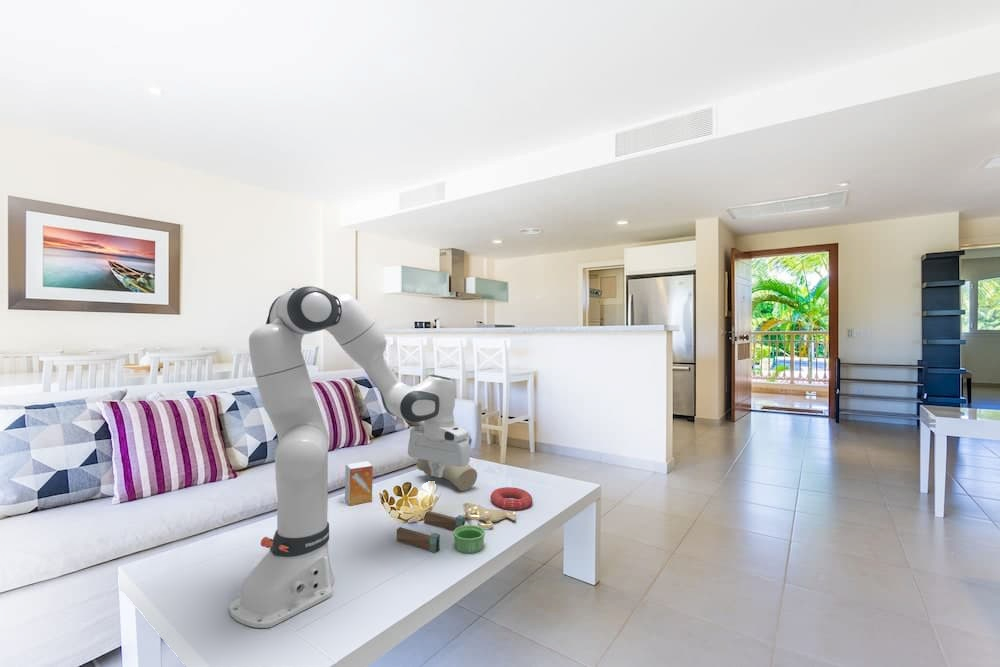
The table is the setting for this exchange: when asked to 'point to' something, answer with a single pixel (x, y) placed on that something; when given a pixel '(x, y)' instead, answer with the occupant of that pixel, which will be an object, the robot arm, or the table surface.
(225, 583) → the table surface
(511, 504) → the torus
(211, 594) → the table surface
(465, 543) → the ramekin
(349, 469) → the small box
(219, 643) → the table surface
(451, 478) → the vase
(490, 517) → the unicorn
